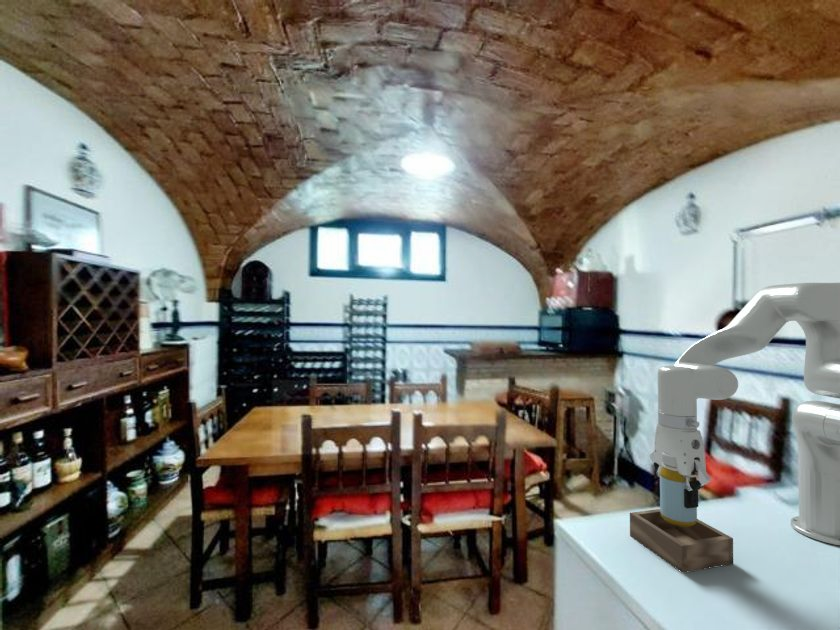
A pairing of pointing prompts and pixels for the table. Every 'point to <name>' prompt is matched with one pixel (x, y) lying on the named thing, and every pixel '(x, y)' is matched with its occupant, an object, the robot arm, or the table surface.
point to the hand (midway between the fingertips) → (678, 499)
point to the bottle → (674, 495)
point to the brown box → (682, 541)
